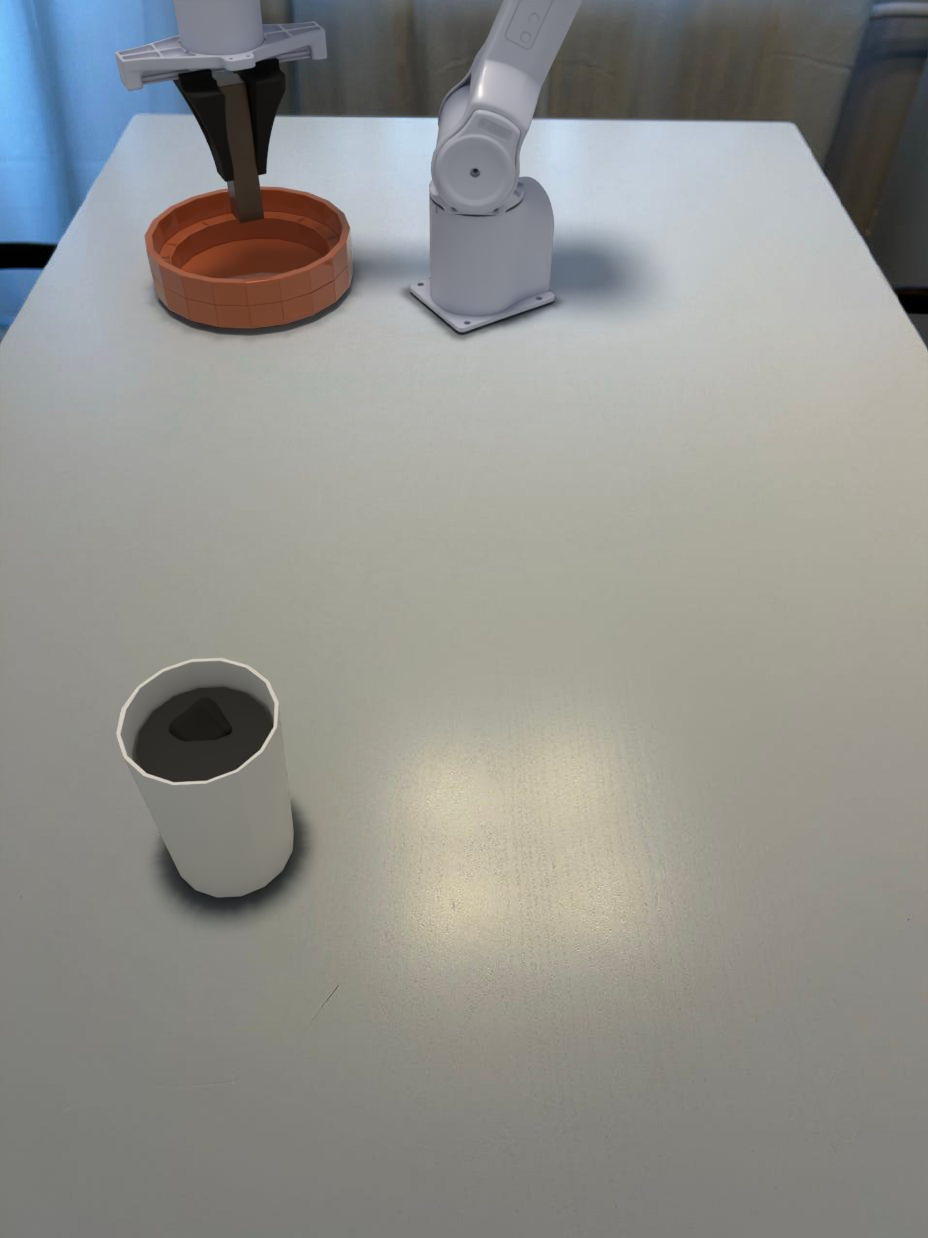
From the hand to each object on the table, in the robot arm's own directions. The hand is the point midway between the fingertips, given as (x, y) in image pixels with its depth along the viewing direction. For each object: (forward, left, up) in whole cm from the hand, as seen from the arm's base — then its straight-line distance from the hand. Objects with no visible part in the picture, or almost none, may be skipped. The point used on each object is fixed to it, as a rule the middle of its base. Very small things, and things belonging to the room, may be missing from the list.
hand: (241, 172), depth 78 cm
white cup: (+24, +46, -10) cm, 53 cm away
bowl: (-1, -2, -10) cm, 10 cm away
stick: (0, 0, -3) cm, 3 cm away
